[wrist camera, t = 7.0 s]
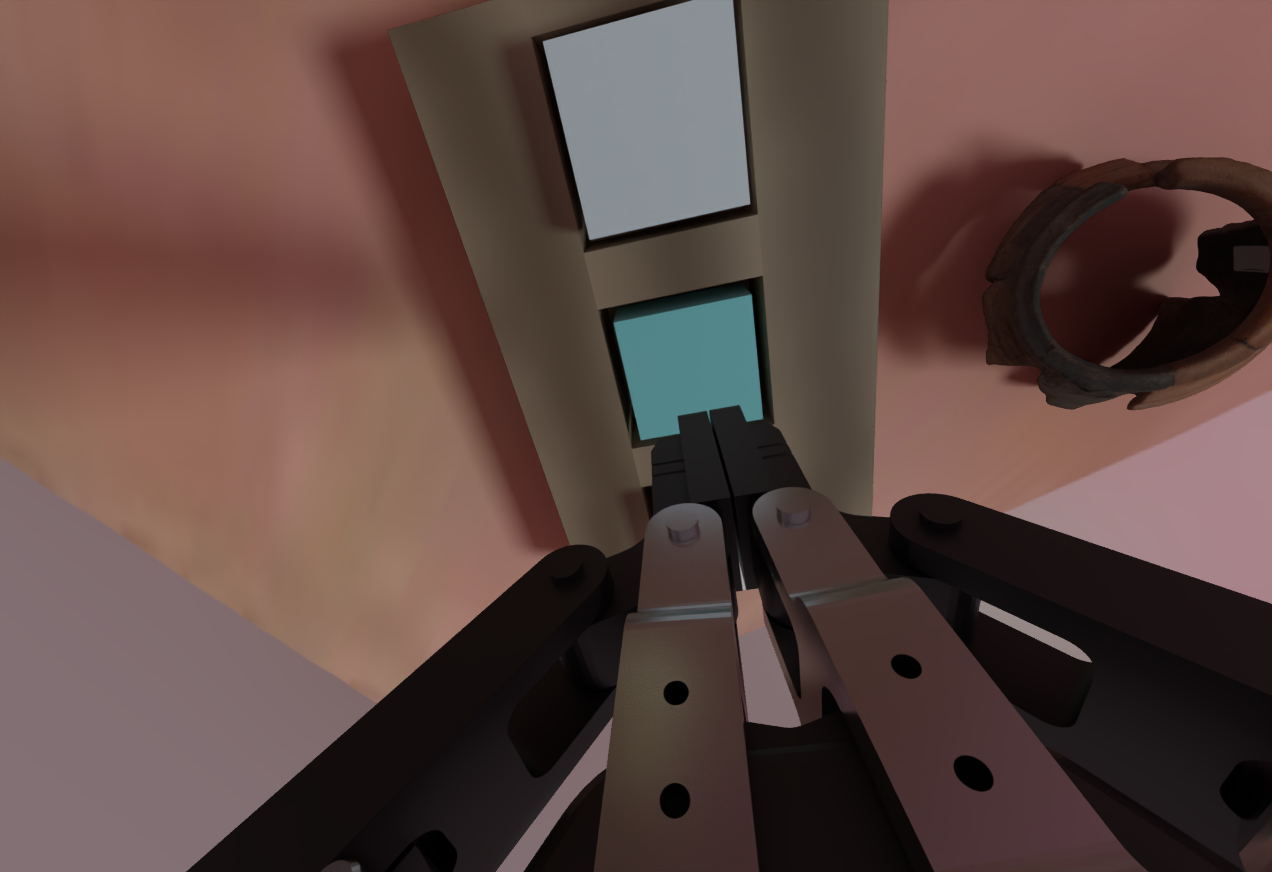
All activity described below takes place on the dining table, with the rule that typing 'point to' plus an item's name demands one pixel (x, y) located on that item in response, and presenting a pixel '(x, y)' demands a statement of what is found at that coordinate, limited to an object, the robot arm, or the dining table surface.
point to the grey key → (653, 116)
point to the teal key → (689, 356)
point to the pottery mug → (1185, 328)
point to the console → (668, 238)
